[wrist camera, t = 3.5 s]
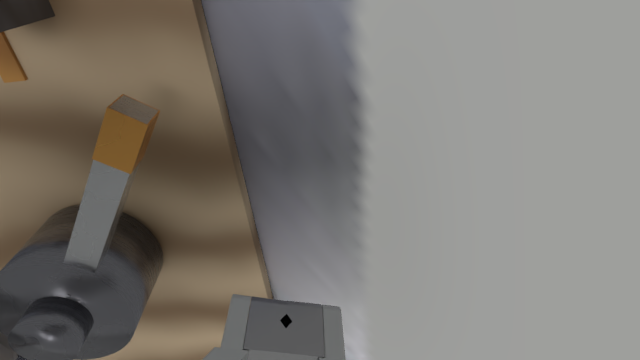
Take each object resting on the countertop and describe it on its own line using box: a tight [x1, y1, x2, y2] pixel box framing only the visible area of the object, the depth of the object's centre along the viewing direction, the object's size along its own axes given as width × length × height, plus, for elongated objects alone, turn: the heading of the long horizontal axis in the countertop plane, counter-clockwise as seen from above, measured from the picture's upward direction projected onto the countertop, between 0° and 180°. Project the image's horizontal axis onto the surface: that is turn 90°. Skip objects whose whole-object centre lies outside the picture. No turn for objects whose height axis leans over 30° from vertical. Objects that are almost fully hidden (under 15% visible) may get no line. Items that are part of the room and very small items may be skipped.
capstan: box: [0, 94, 163, 360], centre depth 20 cm, size 20×7×6 cm, turn 151°
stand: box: [0, 0, 273, 360], centre depth 22 cm, size 31×18×6 cm, turn 6°
